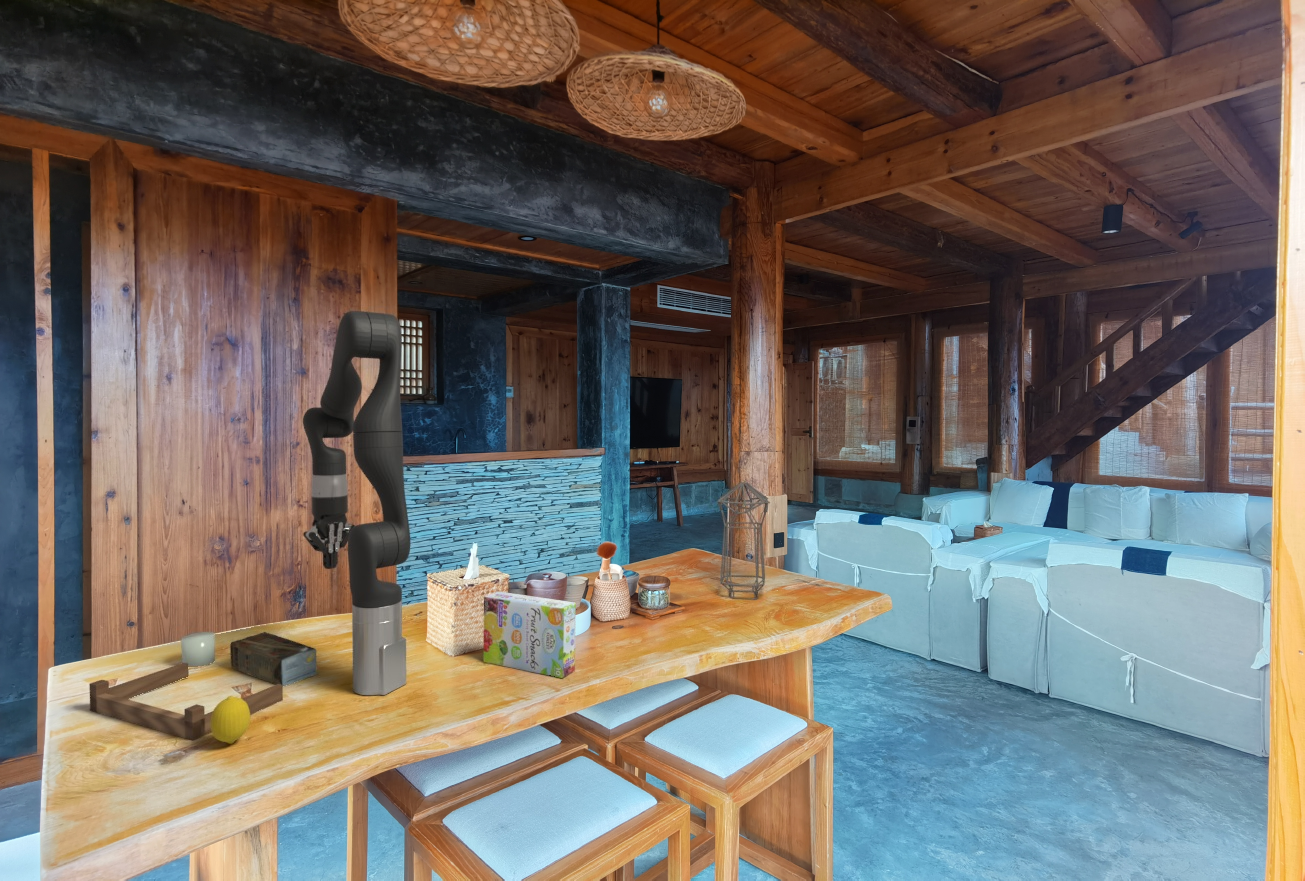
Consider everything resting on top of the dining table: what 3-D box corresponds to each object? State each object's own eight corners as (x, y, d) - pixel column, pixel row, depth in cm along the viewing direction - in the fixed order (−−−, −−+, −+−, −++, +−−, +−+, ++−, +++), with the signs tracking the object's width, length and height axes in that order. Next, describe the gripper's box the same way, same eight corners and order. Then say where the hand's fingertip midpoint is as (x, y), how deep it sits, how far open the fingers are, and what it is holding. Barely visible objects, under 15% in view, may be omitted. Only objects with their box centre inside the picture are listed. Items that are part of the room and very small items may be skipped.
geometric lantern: (716, 601, 195) (716, 483, 194) (719, 588, 210) (719, 479, 210) (770, 603, 192) (770, 484, 192) (769, 590, 208) (769, 480, 207)
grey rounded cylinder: (221, 660, 145) (221, 634, 145) (193, 670, 139) (193, 642, 139) (203, 656, 147) (202, 630, 147) (175, 666, 142) (174, 638, 141)
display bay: (282, 700, 125) (282, 674, 125) (192, 740, 110) (192, 711, 110) (184, 676, 136) (184, 652, 136) (90, 710, 120) (89, 683, 120)
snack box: (576, 670, 141) (577, 601, 141) (562, 679, 136) (562, 608, 136) (497, 654, 150) (497, 589, 150) (481, 662, 145) (481, 595, 145)
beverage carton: (281, 689, 131) (280, 656, 131) (228, 670, 140) (227, 639, 140) (318, 675, 138) (317, 644, 137) (265, 658, 147) (265, 629, 147)
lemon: (221, 755, 105) (220, 706, 105) (204, 746, 108) (203, 698, 108) (257, 741, 110) (256, 694, 109) (240, 732, 113) (239, 686, 112)
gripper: (317, 498, 144) (318, 576, 144) (364, 491, 156) (365, 563, 157) (292, 496, 147) (293, 572, 147) (340, 490, 159) (341, 560, 160)
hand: (330, 568), depth 152 cm, fingers closed
